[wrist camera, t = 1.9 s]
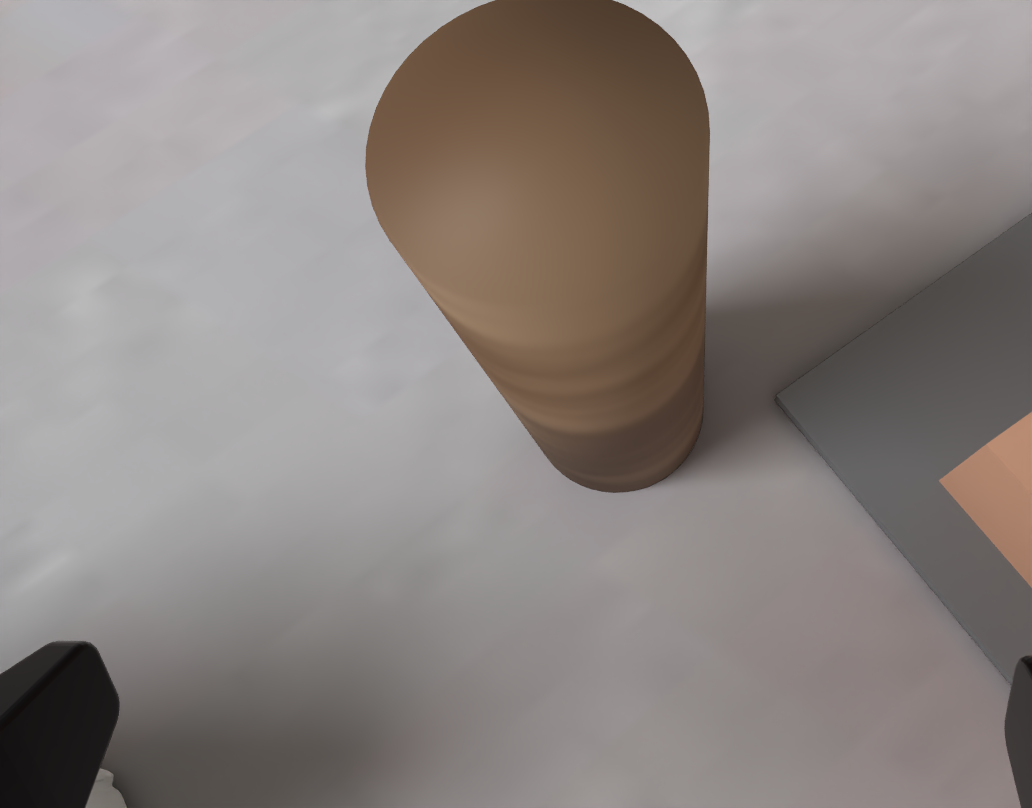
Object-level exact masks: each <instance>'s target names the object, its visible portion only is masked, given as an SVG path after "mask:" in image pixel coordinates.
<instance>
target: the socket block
mask: <svg viewBox="0 0 1032 808" xmlns="http://www.w3.org/2000/svg"><path fill="white" fill-rule="evenodd" d="M939 482H940V483H941V484H942V485H943V486H944V487H945V489H946V490H947V491H948V492H949V493H950V494H951V496H952V497H953V498H954V499H955V500H956V501H957V502H958V504H959V505H960V506H961V507H962V508H963V509H964V510H965V512H966V513H967V514H968V515H969V516H970V517H971V519H972V520H973V521H974V522H975V523H976V524H977V525H978V527H979V528H980V529H981V530H982V531H983V532H984V534H985V535H986V536H987V537H988V538H989V539H990V540H991V542H992V543H993V544H994V545H995V546H996V547H997V548H998V550H999V551H1000V552H1001V553H1002V554H1003V555H1004V557H1005V558H1006V559H1007V560H1008V561H1009V562H1010V563H1011V565H1012V566H1013V567H1014V568H1015V569H1016V570H1017V571H1018V573H1019V574H1020V575H1021V576H1022V577H1023V578H1024V580H1025V581H1026V582H1027V583H1028V584H1029V585H1030V586H1031V588H1032V412H1031V413H1029V414H1028V415H1026V416H1025V417H1024V418H1022V419H1021V420H1019V421H1018V422H1017V423H1015V424H1014V425H1012V426H1011V427H1010V428H1008V429H1007V430H1005V431H1004V432H1003V433H1001V434H1000V435H998V436H997V437H996V438H994V439H993V440H991V441H990V442H989V443H987V444H986V445H985V446H983V447H982V448H981V449H979V450H978V451H977V452H975V453H974V454H973V455H971V456H970V457H969V458H968V459H966V460H965V461H964V462H962V463H961V464H960V465H958V466H957V467H956V468H954V469H953V470H952V471H951V472H949V473H948V474H947V475H945V476H944V477H943V478H941V479H940V480H939Z"/></svg>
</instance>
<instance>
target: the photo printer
mask: <svg viewBox="0 0 1032 808" xmlns="http://www.w3.org/2000/svg"><path fill="white" fill-rule="evenodd" d="M113 777H114V775H113V774H112V773H111V772H109V771H107V770H104V769H101V768H100V770H99V772H98V775H97V778H96V780H95V783H94V786H93V789H92V791H91V794H90V797H89V800H88V802H87V805H86V808H127V807H126V804H125V802H124V799H123V797H122V795H121V793H120V792H119V791H118V790H117V789H115V788H114V787H113V786H112V783H113Z"/></svg>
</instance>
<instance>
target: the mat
mask: <svg viewBox="0 0 1032 808" xmlns="http://www.w3.org/2000/svg"><path fill="white" fill-rule="evenodd" d="M775 401H776V402H777V403H778V404H779V406H780V407H781V408H782V409H783V410H784V412H785V413H786V414H787V415H788V416H789V418H790V419H791V420H792V421H793V422H794V424H795V425H796V426H797V427H798V429H799V430H800V431H801V432H802V433H803V435H804V436H805V437H806V438H807V439H808V441H809V442H810V443H811V444H812V445H813V447H814V448H815V449H816V450H817V451H818V453H819V454H820V455H821V456H822V458H823V459H824V460H825V461H826V462H827V464H828V465H829V466H830V467H831V468H832V470H833V471H834V472H835V473H836V474H837V476H838V477H839V478H840V479H841V480H842V482H843V483H844V484H845V485H846V486H847V488H848V489H849V490H850V491H851V493H852V494H853V495H854V496H855V497H856V499H857V500H858V501H859V502H860V503H861V505H862V506H863V507H864V508H865V509H866V511H867V512H868V513H869V514H870V515H871V517H872V518H873V519H874V520H875V522H876V523H877V524H878V525H879V526H880V528H881V529H882V530H883V531H884V532H885V534H886V535H887V536H888V537H889V538H890V540H891V541H892V542H893V543H894V544H895V546H896V547H897V548H898V549H899V550H900V552H901V553H902V554H903V555H904V557H905V558H906V559H907V560H908V561H909V563H910V564H911V565H912V566H913V567H914V569H915V570H916V571H917V572H918V573H919V575H920V576H921V577H922V578H923V579H924V581H925V582H926V583H927V584H928V586H929V587H930V588H931V589H932V590H933V592H934V593H935V594H936V595H937V596H938V598H939V599H940V600H941V601H942V602H943V604H944V605H945V606H946V607H947V608H948V610H949V611H950V612H951V613H952V614H953V616H954V617H955V618H956V619H957V621H958V622H959V623H960V624H961V625H962V627H963V628H964V629H965V630H966V631H967V633H968V634H969V635H970V636H971V637H972V639H973V640H974V641H975V642H976V643H977V645H978V646H979V647H980V648H981V650H982V651H983V652H984V653H985V654H986V656H987V657H988V658H989V659H990V660H991V662H992V663H993V664H994V665H995V666H996V668H997V669H998V670H999V671H1000V672H1001V674H1002V675H1003V676H1004V677H1005V679H1006V680H1007V681H1008V682H1009V683H1010V685H1011V686H1012V681H1013V675H1014V670H1015V667H1016V664H1017V662H1018V660H1019V659H1020V658H1022V657H1024V656H1027V655H1032V588H1031V586H1030V585H1029V584H1028V583H1027V582H1026V581H1025V580H1024V578H1023V577H1022V576H1021V575H1020V574H1019V573H1018V571H1017V570H1016V569H1015V568H1014V567H1013V566H1012V565H1011V563H1010V562H1009V561H1008V560H1007V559H1006V558H1005V557H1004V555H1003V554H1002V553H1001V552H1000V551H999V550H998V548H997V547H996V546H995V545H994V544H993V543H992V542H991V540H990V539H989V538H988V537H987V536H986V535H985V534H984V532H983V531H982V530H981V529H980V528H979V527H978V525H977V524H976V523H975V522H974V521H973V520H972V519H971V517H970V516H969V515H968V514H967V513H966V512H965V510H964V509H963V508H962V507H961V506H960V505H959V504H958V502H957V501H956V500H955V499H954V498H953V497H952V496H951V494H950V493H949V492H948V491H947V490H946V489H945V487H944V486H943V485H942V484H941V483H940V482H939V480H940V479H941V478H943V477H944V476H945V475H947V474H948V473H949V472H951V471H952V470H953V469H954V468H956V467H957V466H958V465H960V464H961V463H962V462H964V461H965V460H966V459H968V458H969V457H970V456H971V455H973V454H974V453H975V452H977V451H978V450H979V449H981V448H982V447H983V446H985V445H986V444H987V443H989V442H990V441H991V440H993V439H994V438H996V437H997V436H998V435H1000V434H1001V433H1003V432H1004V431H1005V430H1007V429H1008V428H1010V427H1011V426H1012V425H1014V424H1015V423H1017V422H1018V421H1019V420H1021V419H1022V418H1024V417H1025V416H1026V415H1028V414H1029V413H1031V412H1032V213H1031V214H1029V215H1028V216H1027V217H1025V218H1024V219H1022V220H1021V221H1020V222H1018V223H1017V224H1015V225H1014V226H1013V227H1011V228H1010V229H1008V230H1007V231H1006V232H1004V233H1003V234H1001V235H1000V236H999V237H997V238H996V239H994V240H993V241H992V242H990V243H989V244H987V245H986V246H985V247H983V248H982V249H980V250H979V251H977V252H976V253H975V254H973V255H972V256H970V257H969V258H968V259H966V260H965V261H963V262H962V263H961V264H959V265H958V266H956V267H955V268H954V269H952V270H951V271H949V272H948V273H947V274H945V275H944V276H942V277H941V278H940V279H938V280H937V281H935V282H934V283H933V284H931V285H930V286H928V287H927V288H926V289H924V290H923V291H921V292H920V293H919V294H917V295H916V296H914V297H913V298H912V299H910V300H909V301H907V302H906V303H905V304H903V305H902V306H900V307H899V308H897V309H896V310H895V311H893V312H892V313H890V314H889V315H888V316H886V317H885V318H883V319H882V320H881V321H879V322H878V323H876V324H875V325H874V326H872V327H871V328H869V329H868V330H867V331H865V332H864V333H862V334H861V335H860V336H858V337H857V338H855V339H854V340H853V341H851V342H850V343H848V344H847V345H846V346H844V347H843V348H841V349H840V350H839V351H837V352H836V353H834V354H833V355H832V356H830V357H829V358H827V359H826V360H825V361H823V362H822V363H820V364H819V365H818V366H816V367H815V368H813V369H812V370H810V371H809V372H808V373H806V374H805V375H803V376H802V377H801V378H799V379H798V380H796V381H795V382H794V383H792V384H791V385H789V386H788V387H787V388H785V389H784V390H782V391H781V392H780V393H778V394H777V395H776V397H775Z"/></svg>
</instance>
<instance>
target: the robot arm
mask: <svg viewBox="0 0 1032 808" xmlns="http://www.w3.org/2000/svg"><path fill="white" fill-rule="evenodd" d="M118 716H119V697H118V694H117V691H116V689H115V687H114V684H113V682H112V680H111V678H110V676H109V673H108V671H107V669H106V667H105V664H104V662H103V660H102V658H101V656H100V653H99V651H98V650H97V648H96V647H95V646H94V645H92V644H91V643H89V642H86V641H56V642H51V643H49V644H47V645H45V646H44V647H42V648H40V649H39V650H37V651H36V652H34V653H33V654H31V655H30V656H28V657H27V658H25V659H23V660H22V661H20V662H19V663H17V664H16V665H14V666H13V667H11V668H9V669H8V670H6V671H5V672H3V673H2V674H0V808H86V805H87V802H88V800H89V797H90V794H91V791H92V789H93V786H94V783H95V780H96V778H97V775H98V772H99V770H100V767H101V764H102V761H103V759H104V756H105V753H106V750H107V748H108V745H109V742H110V740H111V737H112V734H113V731H114V729H115V726H116V723H117V720H118ZM1005 740H1006V746H1007V751H1008V755H1009V759H1010V763H1011V767H1012V772H1013V776H1014V780H1015V784H1016V788H1017V792H1018V796H1019V801H1020V805H1021V808H1032V655H1027V656H1024V657H1022V658H1020V659H1019V660H1018V662H1017V664H1016V667H1015V670H1014V675H1013V681H1012V686H1011V691H1010V696H1009V701H1008V706H1007V712H1006V717H1005Z"/></svg>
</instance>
